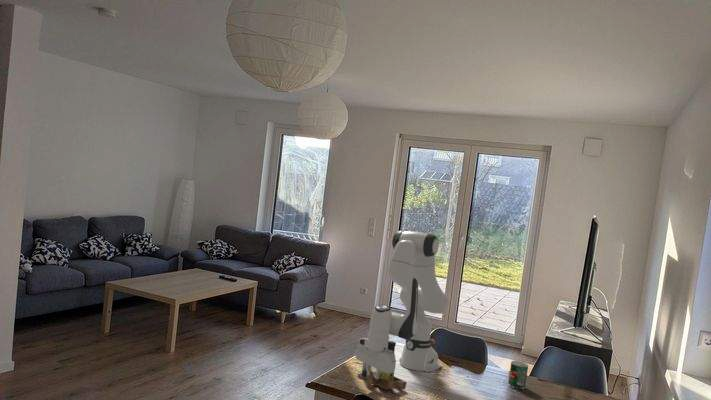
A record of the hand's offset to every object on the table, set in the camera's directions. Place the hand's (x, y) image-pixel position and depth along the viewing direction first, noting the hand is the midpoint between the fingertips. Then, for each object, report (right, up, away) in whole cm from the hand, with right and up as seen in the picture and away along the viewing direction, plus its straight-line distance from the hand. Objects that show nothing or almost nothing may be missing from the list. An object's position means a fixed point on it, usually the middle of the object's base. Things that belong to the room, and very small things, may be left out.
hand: (372, 376), depth 237 cm
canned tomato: (+69, -15, +32) cm, 77 cm away
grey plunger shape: (-3, -5, +15) cm, 17 cm away
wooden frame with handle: (+4, -4, +5) cm, 8 cm away
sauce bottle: (+5, -7, +6) cm, 10 cm away
